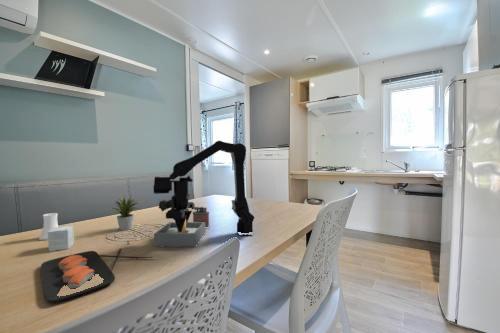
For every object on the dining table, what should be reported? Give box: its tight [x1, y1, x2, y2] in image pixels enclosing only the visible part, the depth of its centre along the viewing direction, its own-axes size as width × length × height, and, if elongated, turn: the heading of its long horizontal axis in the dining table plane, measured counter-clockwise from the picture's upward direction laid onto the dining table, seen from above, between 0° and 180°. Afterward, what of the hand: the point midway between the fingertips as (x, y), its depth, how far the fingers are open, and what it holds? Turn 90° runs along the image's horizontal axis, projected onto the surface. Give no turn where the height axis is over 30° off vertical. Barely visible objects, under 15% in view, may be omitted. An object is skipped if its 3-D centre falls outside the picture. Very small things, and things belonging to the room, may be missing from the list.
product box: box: [47, 225, 75, 252], centre depth 88 cm, size 6×6×7 cm
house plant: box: [111, 194, 143, 231], centre depth 109 cm, size 14×14×16 cm
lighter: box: [192, 206, 210, 227], centre depth 113 cm, size 8×3×10 cm, turn 84°
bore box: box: [153, 221, 206, 247], centre depth 96 cm, size 16×16×5 cm
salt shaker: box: [38, 212, 59, 241], centre depth 99 cm, size 8×8×10 cm
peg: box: [177, 220, 186, 233], centre depth 96 cm, size 4×4×6 cm
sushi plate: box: [40, 248, 153, 303], centre depth 73 cm, size 29×30×4 cm
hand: (181, 230), depth 96 cm, fingers closed on peg, 4 cm apart
